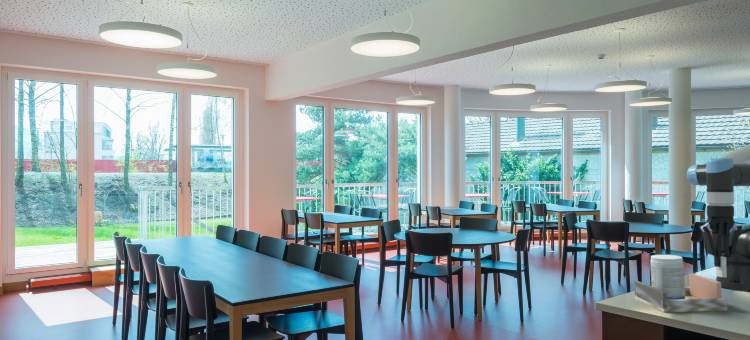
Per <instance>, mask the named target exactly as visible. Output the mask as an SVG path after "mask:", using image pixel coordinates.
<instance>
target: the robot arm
mask: <svg viewBox="0 0 750 340" xmlns="http://www.w3.org/2000/svg"><path fill="white" fill-rule="evenodd" d="M686 178H687V181H688V182H689V184H691V185H693V186H699V187H703V186H704V187H706V204H708V205H707V206H706V215H707V220H706V223H704V224H703V225H699V228H698V229H699V230H700V231H701V232H702V236H703V239H704V244H705V248H706V252H707V254H709V255H711V256H713V264H714V267H716V268H715V269H716V277H715V281H718V282H721V288H723V289H727V290H734V291H743V292H745V291H746V292H747V291H748V292H750V223H746V224H745V223H744V224H737V223H735V222H736V221H735V219H734V216H735V206H734V204H735V193H734V192H735V191H734V188H735V187H750V143H749V144H746V145H744V146H742V147H740V148H738V149H736V150H733V151H730V152H729V153H727V154H725V155H724V154H723V156H720V157H718V158H717V157H714V158H708V159H707V160H706V163H704V164H694V165H693V164H692V165H690V167H688V168H687V172H686Z"/></svg>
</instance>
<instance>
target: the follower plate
mask: <svg viewBox="0 0 750 340" xmlns="http://www.w3.org/2000/svg"><path fill="white" fill-rule="evenodd" d="M688 275H689V276H688V277H689V278H688V280H689V281H688V284H689V286H688V287H690V295H693V296H695V297H698V298H700V299H714V298H723V296H722V294H723V293H722V287H721V282H718V281H716V280H715V279H711V278H708V277H705V276H701V275H698V274H696V273H695V274H694V273H689V274H688Z"/></svg>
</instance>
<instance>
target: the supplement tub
mask: <svg viewBox="0 0 750 340" xmlns="http://www.w3.org/2000/svg"><path fill="white" fill-rule="evenodd" d="M650 276H651V277H650V278H651V287H654V288H656V289H658V290H661V291H663V292H666V293H667V300H680V299H685V287H686V286H685V285H686V283H685V267H684V259H683V257H682V256H681V255H674V254H653V255H650Z"/></svg>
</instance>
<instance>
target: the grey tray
mask: <svg viewBox="0 0 750 340" xmlns="http://www.w3.org/2000/svg"><path fill="white" fill-rule="evenodd" d="M634 299H635V300H637V301H640V302H641V303H642V304H643V303H644V304H645V305H647V306H650V307H652V308H654V309H657V310H658V311H660V312H662V313H682V312H683V313H685V312H689V311H691V312H718V311H719V312H722V311H725V312H726V311H728V298H723V297H722V298H714V299H700V298H698V297H695V296H693V295H690V286H685V299H680V300H667V293H666V292H663V291H661V290H658V289H656V288H654V287H652V285H648V284H646V283H643V282H642V281H639V280H635V281H634ZM689 313H690V312H689Z"/></svg>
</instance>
